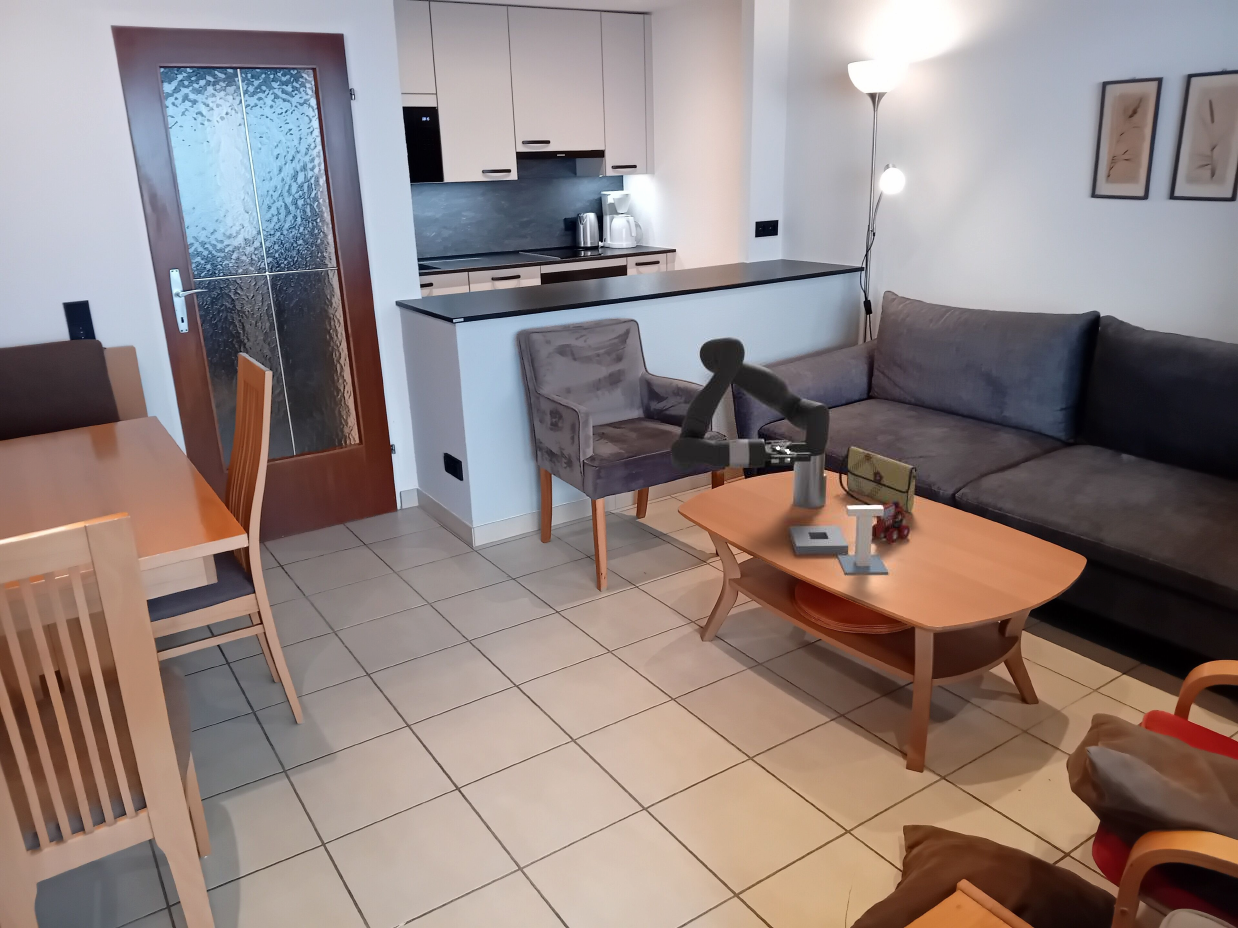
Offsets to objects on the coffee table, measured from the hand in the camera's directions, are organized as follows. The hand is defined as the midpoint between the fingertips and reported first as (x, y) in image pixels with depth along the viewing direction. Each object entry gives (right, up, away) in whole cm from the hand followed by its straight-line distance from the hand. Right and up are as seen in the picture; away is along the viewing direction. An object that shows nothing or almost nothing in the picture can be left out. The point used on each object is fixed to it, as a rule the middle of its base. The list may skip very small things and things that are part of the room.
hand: (808, 452), depth 230 cm
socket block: (+6, -26, +17) cm, 32 cm away
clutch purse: (+31, -15, +46) cm, 57 cm away
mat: (+15, -30, +3) cm, 34 cm away
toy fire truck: (+27, -24, +20) cm, 42 cm away
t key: (+15, -30, +3) cm, 33 cm away
